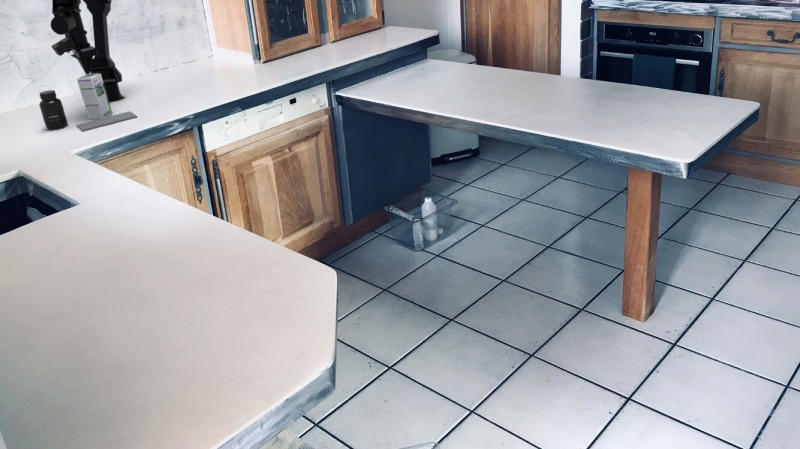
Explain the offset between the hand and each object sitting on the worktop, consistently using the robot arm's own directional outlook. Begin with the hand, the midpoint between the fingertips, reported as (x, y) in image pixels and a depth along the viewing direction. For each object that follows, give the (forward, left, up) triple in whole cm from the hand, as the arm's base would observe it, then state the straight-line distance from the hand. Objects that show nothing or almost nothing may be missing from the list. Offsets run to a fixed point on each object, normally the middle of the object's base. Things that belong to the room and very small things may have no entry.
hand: (87, 74), depth 251 cm
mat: (+16, -1, -13) cm, 21 cm away
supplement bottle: (+7, -15, -13) cm, 21 cm away
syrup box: (+8, -1, -13) cm, 15 cm away
